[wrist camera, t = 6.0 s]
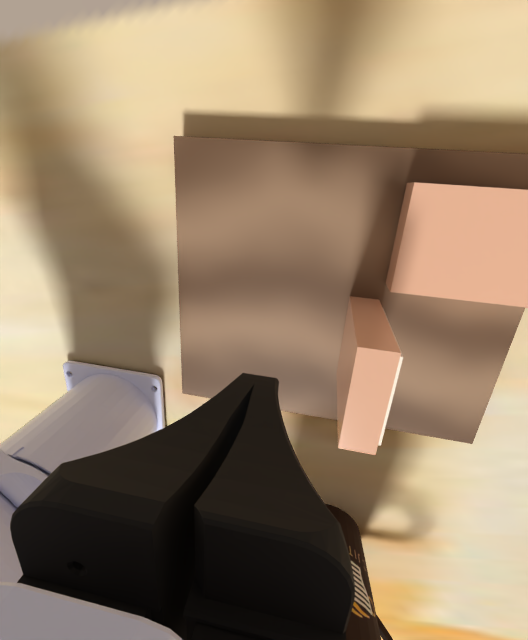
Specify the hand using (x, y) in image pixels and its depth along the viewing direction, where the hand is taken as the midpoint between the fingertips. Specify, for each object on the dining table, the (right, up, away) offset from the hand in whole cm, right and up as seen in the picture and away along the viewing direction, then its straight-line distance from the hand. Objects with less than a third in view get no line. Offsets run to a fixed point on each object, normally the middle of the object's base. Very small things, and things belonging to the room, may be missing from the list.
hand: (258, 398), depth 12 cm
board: (+5, +4, +8) cm, 10 cm away
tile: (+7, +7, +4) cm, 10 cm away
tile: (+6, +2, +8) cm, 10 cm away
